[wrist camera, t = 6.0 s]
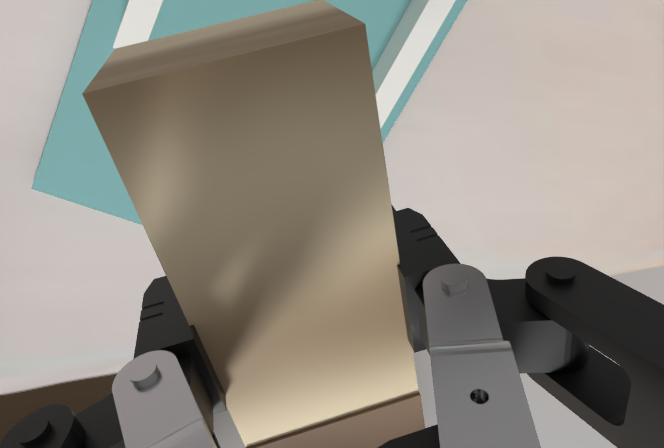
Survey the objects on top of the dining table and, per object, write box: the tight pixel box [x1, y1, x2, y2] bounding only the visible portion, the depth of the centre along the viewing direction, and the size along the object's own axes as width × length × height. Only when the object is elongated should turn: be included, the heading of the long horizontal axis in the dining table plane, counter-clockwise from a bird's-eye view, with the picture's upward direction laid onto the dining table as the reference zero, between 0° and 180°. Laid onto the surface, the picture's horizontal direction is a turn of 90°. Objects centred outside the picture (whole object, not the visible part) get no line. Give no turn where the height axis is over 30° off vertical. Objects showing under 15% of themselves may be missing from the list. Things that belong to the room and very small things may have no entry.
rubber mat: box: [32, 0, 467, 225], centre depth 26 cm, size 16×20×1 cm
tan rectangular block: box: [82, 0, 425, 448], centre depth 12 cm, size 12×4×4 cm, turn 11°
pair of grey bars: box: [113, 0, 456, 129], centre depth 24 cm, size 13×10×2 cm
